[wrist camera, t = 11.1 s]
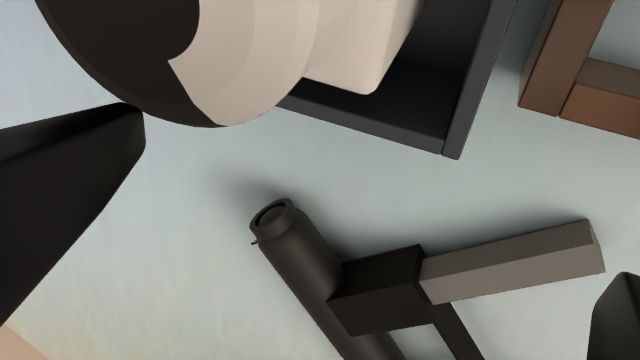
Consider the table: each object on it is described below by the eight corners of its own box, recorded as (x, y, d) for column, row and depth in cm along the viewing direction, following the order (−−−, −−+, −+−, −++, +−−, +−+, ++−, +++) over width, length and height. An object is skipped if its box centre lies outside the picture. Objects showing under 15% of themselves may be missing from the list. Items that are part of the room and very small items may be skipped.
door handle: (543, 136, 18) (220, 243, 26) (686, 462, 26) (398, 467, 34) (539, 96, 21) (246, 205, 29) (670, 403, 28) (406, 421, 36)
